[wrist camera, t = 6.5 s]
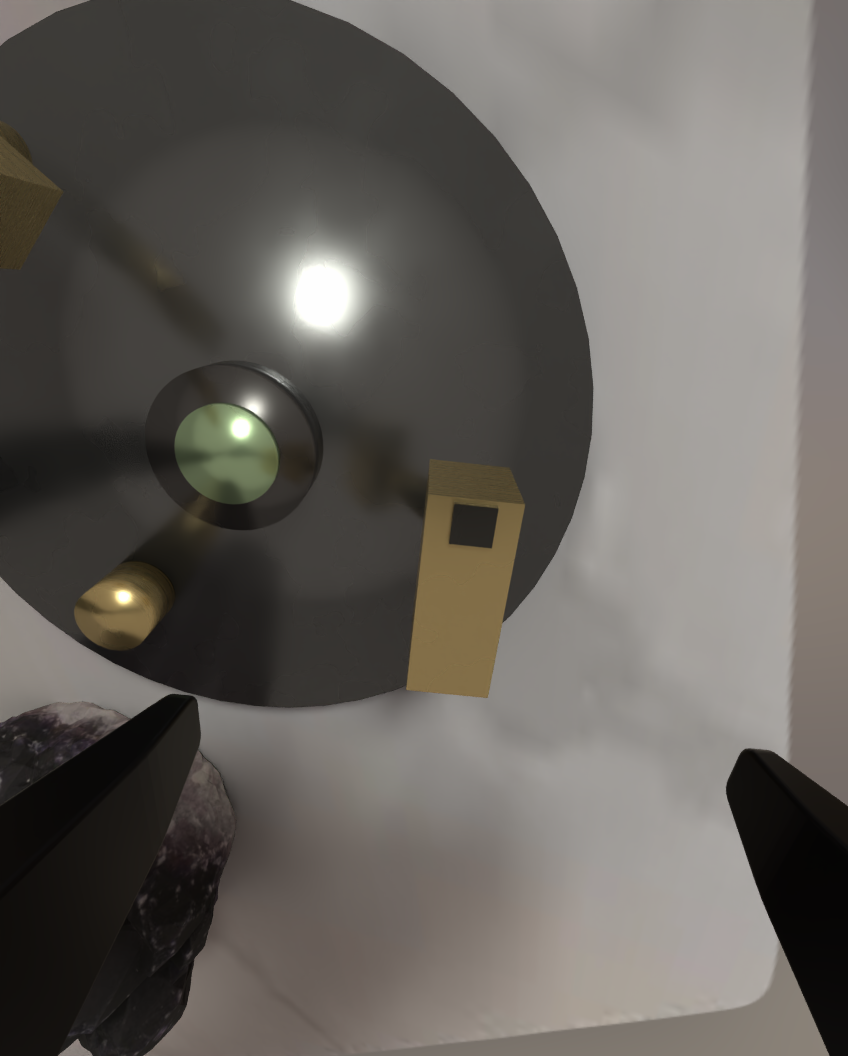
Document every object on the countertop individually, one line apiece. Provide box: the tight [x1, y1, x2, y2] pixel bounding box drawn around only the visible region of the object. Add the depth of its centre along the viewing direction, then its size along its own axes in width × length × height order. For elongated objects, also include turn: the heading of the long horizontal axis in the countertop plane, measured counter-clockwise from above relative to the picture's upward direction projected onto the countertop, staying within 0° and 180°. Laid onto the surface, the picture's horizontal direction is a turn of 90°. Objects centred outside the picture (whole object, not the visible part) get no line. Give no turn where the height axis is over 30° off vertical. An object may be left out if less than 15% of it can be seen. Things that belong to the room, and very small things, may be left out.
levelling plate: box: [0, 0, 593, 707], centre depth 16 cm, size 22×22×3 cm
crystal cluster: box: [0, 702, 236, 1056], centre depth 22 cm, size 13×14×10 cm
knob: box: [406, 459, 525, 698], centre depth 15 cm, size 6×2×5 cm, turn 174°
